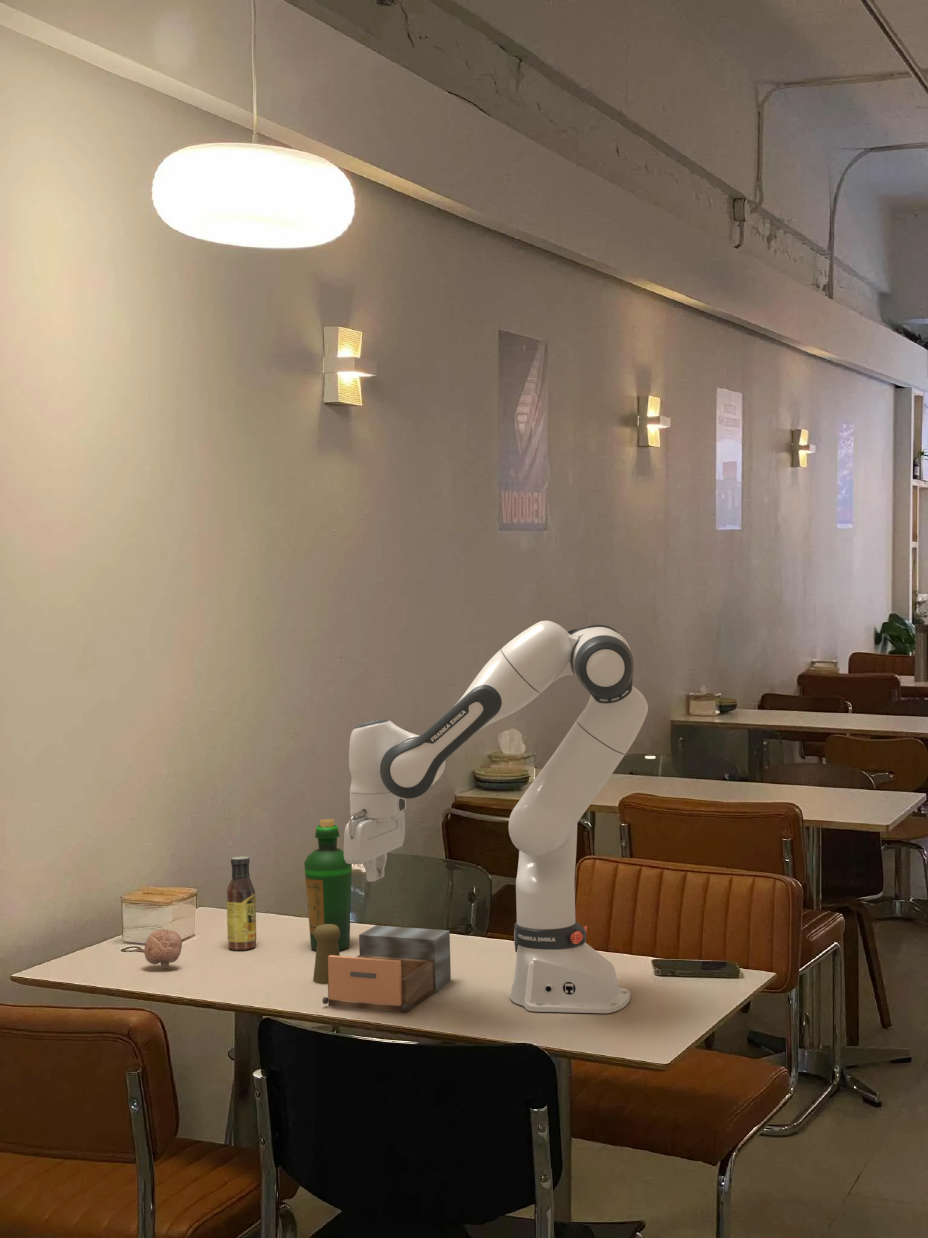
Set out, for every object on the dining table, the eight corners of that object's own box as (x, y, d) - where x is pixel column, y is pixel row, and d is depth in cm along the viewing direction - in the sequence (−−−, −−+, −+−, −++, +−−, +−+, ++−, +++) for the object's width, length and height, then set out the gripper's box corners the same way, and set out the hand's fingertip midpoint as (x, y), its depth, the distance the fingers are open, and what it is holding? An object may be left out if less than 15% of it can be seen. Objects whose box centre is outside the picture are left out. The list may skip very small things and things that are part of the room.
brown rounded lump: (188, 967, 290) (187, 929, 290) (166, 974, 285) (165, 936, 285) (162, 963, 294) (161, 925, 294) (140, 970, 289) (139, 931, 289)
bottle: (312, 942, 309) (309, 816, 309) (359, 942, 308) (356, 816, 308) (300, 954, 299) (296, 824, 298) (348, 954, 297) (345, 824, 297)
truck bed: (452, 981, 275) (451, 930, 275) (405, 1015, 253) (404, 960, 253) (375, 974, 281) (374, 925, 281) (322, 1007, 259) (321, 954, 259)
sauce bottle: (254, 951, 302) (251, 860, 302) (225, 952, 302) (223, 861, 302) (259, 944, 309) (256, 854, 308) (230, 944, 309) (228, 855, 309)
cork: (338, 984, 274) (337, 929, 274) (309, 983, 276) (307, 928, 276) (347, 976, 280) (345, 922, 280) (318, 975, 282) (317, 921, 281)
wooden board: (402, 1004, 254) (400, 960, 254) (399, 1006, 253) (398, 962, 253) (331, 997, 260) (330, 955, 260) (328, 999, 258) (327, 957, 258)
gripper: (365, 815, 251) (367, 891, 251) (409, 799, 270) (411, 870, 270) (334, 814, 253) (336, 890, 253) (380, 798, 272) (382, 868, 272)
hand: (375, 879), depth 262 cm, fingers closed
